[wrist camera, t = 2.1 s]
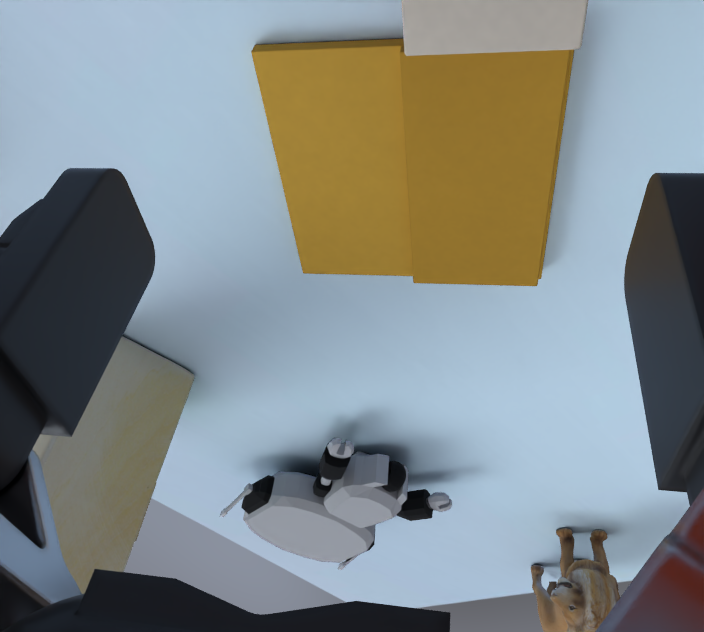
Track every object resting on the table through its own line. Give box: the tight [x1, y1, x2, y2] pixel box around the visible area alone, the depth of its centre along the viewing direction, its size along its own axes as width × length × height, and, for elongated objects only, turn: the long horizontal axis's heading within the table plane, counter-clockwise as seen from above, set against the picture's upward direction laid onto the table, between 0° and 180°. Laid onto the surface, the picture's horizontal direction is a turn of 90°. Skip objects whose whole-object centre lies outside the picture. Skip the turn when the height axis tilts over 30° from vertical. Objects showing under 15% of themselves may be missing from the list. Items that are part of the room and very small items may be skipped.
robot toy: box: [220, 438, 452, 570], centre depth 50 cm, size 12×4×15 cm
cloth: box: [252, 39, 574, 286], centre depth 28 cm, size 12×12×1 cm
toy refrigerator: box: [33, 336, 194, 594], centre depth 38 cm, size 8×7×21 cm
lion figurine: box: [531, 528, 620, 632], centre depth 52 cm, size 15×5×9 cm, turn 5°
